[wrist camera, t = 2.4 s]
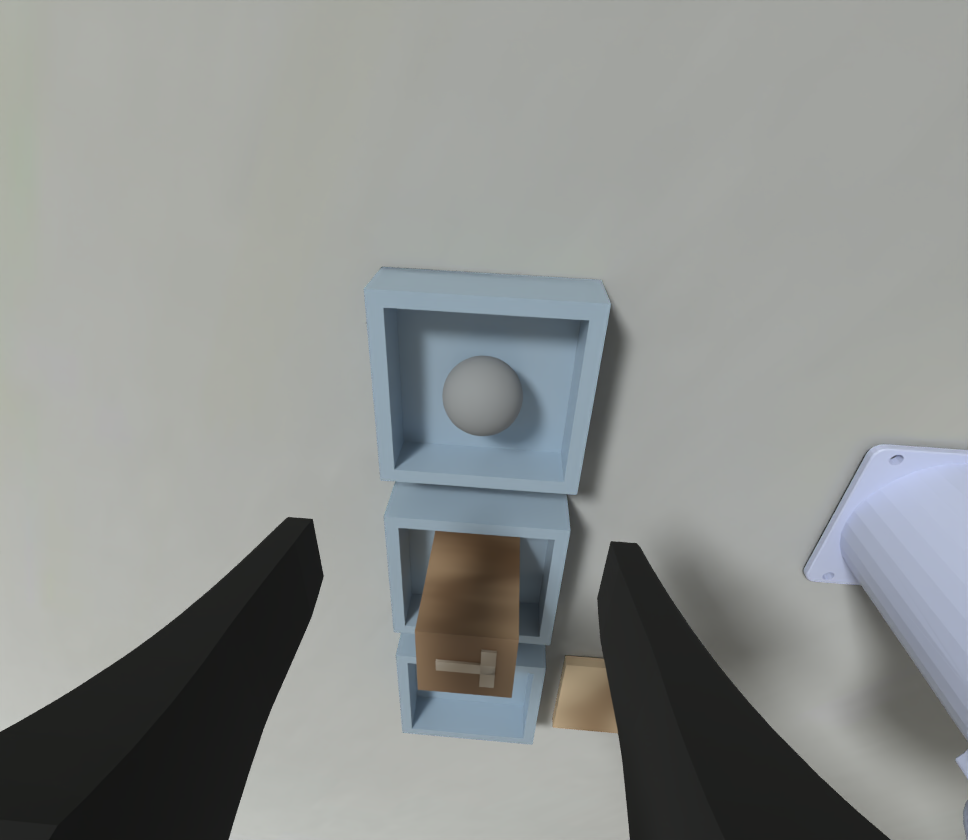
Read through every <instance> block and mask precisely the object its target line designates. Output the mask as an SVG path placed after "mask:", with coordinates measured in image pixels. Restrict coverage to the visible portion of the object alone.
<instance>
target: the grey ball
mask: <svg viewBox="0 0 968 840" xmlns="http://www.w3.org/2000/svg"><path fill="white" fill-rule="evenodd" d="M442 398H443V405H444V409H445V411H446V414H447V416H448V417H449V419H450V420H451V421H452V423H453V424H454V425H455V426H456V427H458V428H459V429H460V430H462V431H464V432H466V433H468V434H471V435H475V436H490V435H495V434H498V433H500V432H502V431H503V430H505V429H507V428H508V427H509V426H510V425H511V424H512V423H513V422H514V421H515V419H516V418H517V416H518V414H519V412H520V410H521V407H522V402H523V390H522V385H521V382H520V380H519V377H518V375H517V374H516V372H515V371H514V370H513V369H512V368H511V367H510V366H509V365H508V364H507V363H505V362H504V361H502V360H500V359H498V358H495V357H491V356H474V357H470V358H468V359H465V360H463V361H462V362H460V363H459V364H457V365H456V366H455V367H454V368H453V369H452V370H451V372H450V373H449V375H448V376H447V378H446V381H445V383H444V387H443V394H442Z"/></svg>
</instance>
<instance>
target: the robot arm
mask: <svg viewBox="0 0 968 840" xmlns="http://www.w3.org/2000/svg"><path fill="white" fill-rule="evenodd" d="M895 455H897V456H896V457H894V458H892V457H893V456H895ZM891 458H892V459H891ZM803 572H804V574H805V576H806V578H807V579H808V580H810V581H814V582H827V583H839V584H852V585H861V586H862V587H863V589H864V590H865V592H866V593H867V595H868V596H869V597H870V599H871V600H872V602H873V603H874V605H875V606H876V608H877V609H878V611H879V612H880V614H881V615H882V617H883V618H884V620H885V621H886V622H887V624H888V625H889V627H890V628H891V630H892V631H893V633H894V634H895V636H896V637H897V639H898V640H899V642H900V643H901V645H902V646H903V647H904V649H905V650H906V652H907V653H908V655H909V656H910V658H911V659H912V661H913V662H914V664H915V665H916V667H917V668H918V670H919V671H920V672H921V674H922V675H923V677H924V678H925V680H926V681H927V683H928V684H929V686H930V687H931V689H932V690H933V692H934V693H935V695H936V696H937V698H938V699H939V700H940V702H941V703H942V705H943V706H944V708H945V709H946V711H947V712H948V714H949V715H950V717H951V718H952V720H953V721H954V723H955V724H956V725H957V727H958V728H959V730H960V731H961V733H962V734H963V736H964V737H965V739H966V740H967V742H968V450H959V449H945V448H930V447H916V446H901V445H887V444H882V445H877V446H874V447H873V448H871V449H870V450H869V451H868V452H867V454H866V455H865V457H864V459H863V461H862V463H861V465H860V466H859V468H858V470H857V472H856V474H855V476H854V478H853V479H852V481H851V483H850V485H849V487H848V489H847V490H846V492H845V494H844V496H843V498H842V500H841V501H840V503H839V505H838V507H837V509H836V511H835V513H834V514H833V516H832V518H831V520H830V522H829V524H828V525H827V527H826V529H825V531H824V533H823V535H822V536H821V538H820V540H819V542H818V544H817V546H816V548H815V549H814V551H813V553H812V555H811V557H810V559H809V560H808V562H807V564H806V566H805V568H804V571H803ZM323 577H324V576H323V571H322V565H321V560H320V555H319V550H318V544H317V539H316V534H315V529H314V524H313V519H306V518H293V517H288V518H286V519H285V520H284V521H283V522H282V523H281V524H280V525H279V526H278V527H277V528H276V529H275V530H274V531H272V532H271V533H270V534H269V535H268V536H267V537H266V538H265V539H264V540H263V541H262V542H261V543H260V544H259V545H258V546H257V547H256V548H255V549H254V550H253V551H252V552H251V553H250V554H248V555H247V556H246V557H245V558H244V559H243V560H242V561H241V562H240V563H239V564H238V565H237V566H236V567H234V568H233V569H232V570H231V571H230V572H229V573H228V574H227V575H226V576H225V577H224V578H222V579H221V580H220V581H219V582H218V583H217V584H216V585H215V586H214V587H212V588H211V589H210V590H209V591H208V592H207V593H205V594H204V595H203V596H202V597H201V598H199V599H198V600H197V601H196V602H195V603H193V604H192V605H191V606H190V607H189V608H188V609H186V610H185V611H184V612H183V613H182V614H180V615H179V616H178V617H177V618H175V619H174V620H173V621H172V622H170V623H169V624H168V625H166V626H165V627H164V628H163V629H161V630H160V631H159V632H157V633H156V634H155V635H153V636H152V637H151V638H149V639H148V640H147V641H145V642H144V643H142V644H141V645H140V646H138V647H137V648H136V649H134V650H133V651H131V652H130V653H129V654H127V655H126V656H124V657H123V658H121V659H120V660H118V661H117V662H115V663H114V664H112V665H111V666H109V667H108V668H106V669H104V670H103V671H101V672H100V673H98V674H97V675H95V676H94V677H92V678H91V679H89V680H88V681H86V682H85V683H83V684H82V685H80V686H79V687H77V688H75V689H74V690H72V691H70V692H69V693H67V694H65V695H64V696H62V697H60V698H59V699H57V700H55V701H54V702H52V703H50V704H49V705H47V706H45V707H44V708H42V709H40V710H38V711H37V712H35V713H33V714H31V715H30V716H28V717H26V718H24V719H23V720H21V721H19V722H17V723H16V724H14V725H12V726H10V727H8V728H7V729H5V730H3V731H1V732H0V840H229V836H230V833H231V829H232V826H233V822H234V819H235V816H236V813H237V809H238V806H239V803H240V800H241V797H242V793H243V790H244V787H245V784H246V781H247V777H248V774H249V771H250V768H251V765H252V762H253V759H254V756H255V753H256V750H257V747H258V744H259V741H260V738H261V735H262V732H263V729H264V726H265V724H266V721H267V719H268V716H269V714H270V711H271V709H272V706H273V704H274V702H275V699H276V697H277V695H278V693H279V690H280V688H281V686H282V683H283V681H284V679H285V677H286V674H287V672H288V670H289V668H290V665H291V663H292V661H293V659H294V656H295V654H296V652H297V649H298V647H299V645H300V643H301V640H302V638H303V636H304V633H305V631H306V629H307V626H308V624H309V622H310V619H311V617H312V614H313V611H314V607H315V604H316V601H317V598H318V594H319V591H320V587H321V584H322V580H323ZM597 600H598V614H599V628H600V639H601V645H602V651H603V656H604V662H605V667H606V672H607V678H608V683H609V688H610V693H611V699H612V704H613V709H614V714H615V719H616V725H617V730H618V735H619V741H620V748H621V754H622V762H623V771H624V781H625V791H626V801H627V812H628V823H629V834H630V840H890V839H889V838H888V837H887V836H886V835H884V834H883V833H882V832H881V831H880V830H879V829H877V828H876V827H875V826H874V825H873V824H872V823H870V822H869V821H868V820H867V819H866V818H865V817H863V816H862V815H861V814H860V813H859V812H858V811H856V810H855V809H854V808H853V807H852V806H851V805H850V804H849V803H848V802H847V801H845V800H844V799H843V798H842V797H841V796H840V795H839V794H838V793H837V792H836V791H835V790H834V789H833V788H832V787H830V786H829V785H828V784H827V783H826V782H825V781H824V780H823V779H822V778H821V777H820V776H819V775H818V774H817V773H816V772H815V771H814V770H813V769H812V768H811V767H810V766H809V765H808V764H807V763H806V762H805V761H804V760H803V759H802V758H801V757H800V756H799V755H798V754H797V753H796V752H795V751H794V750H793V749H792V748H791V747H790V746H789V745H788V744H787V743H786V742H785V741H784V740H783V739H782V738H781V737H780V736H779V735H778V734H777V733H776V732H775V731H774V730H773V729H772V727H771V726H770V725H769V724H768V723H767V722H766V721H765V720H764V719H763V717H762V716H761V715H760V714H759V713H758V712H757V711H756V710H755V709H754V707H753V706H752V705H751V704H750V703H749V702H748V701H747V699H746V698H745V697H744V696H743V695H742V694H741V692H740V691H739V690H738V689H737V688H736V687H735V685H734V684H733V683H732V682H731V680H730V679H729V678H728V677H727V676H726V674H725V673H724V672H723V671H722V669H721V668H720V667H719V665H718V664H717V663H716V662H715V660H714V659H713V658H712V656H711V655H710V654H709V652H708V651H707V650H706V648H705V647H704V646H703V644H702V643H701V642H700V640H699V639H698V637H697V636H696V635H695V633H694V632H693V630H692V629H691V628H690V626H689V625H688V623H687V622H686V620H685V619H684V617H683V616H682V614H681V613H680V611H679V610H678V608H677V607H676V605H675V604H674V602H673V601H672V599H671V598H670V596H669V595H668V593H667V592H666V590H665V588H664V587H663V585H662V583H661V582H660V580H659V579H658V577H657V575H656V574H655V572H654V570H653V569H652V567H651V565H650V564H649V562H648V560H647V558H646V557H645V555H644V553H643V551H642V549H641V548H640V546H639V545H638V544H637V543H626V542H613V541H611V543H610V547H609V551H608V555H607V560H606V564H605V568H604V572H603V576H602V581H601V585H600V589H599V593H598V598H597ZM955 761H956V762H957V764H958V765H959V767H960V768H961V770H962V771H963V773H964V775H965V776H966V778H967V779H968V749H967V750H966V751H965V752H964V753H963V754H961V755H959V756H958V757H956V759H955ZM963 824H964V829H965V834H966V839H967V840H968V800H967V801H966V804H965V807H964V811H963Z"/></svg>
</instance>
